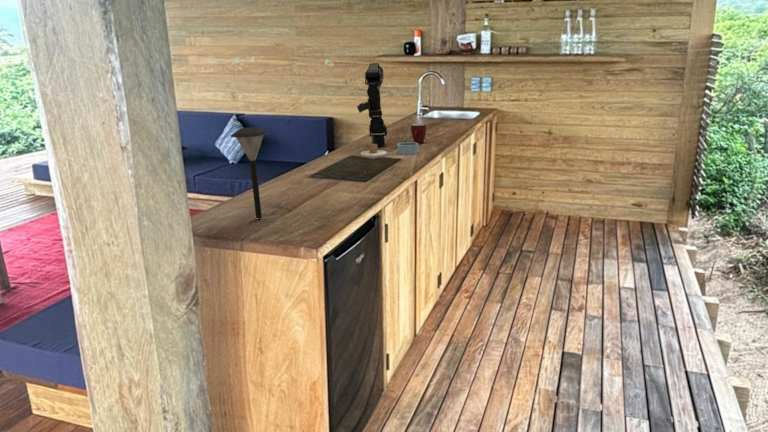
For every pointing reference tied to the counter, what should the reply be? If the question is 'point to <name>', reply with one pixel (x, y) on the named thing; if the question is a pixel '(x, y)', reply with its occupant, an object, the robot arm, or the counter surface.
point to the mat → (374, 157)
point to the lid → (373, 151)
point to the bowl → (407, 148)
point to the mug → (418, 132)
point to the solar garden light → (252, 157)
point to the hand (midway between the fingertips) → (375, 128)
